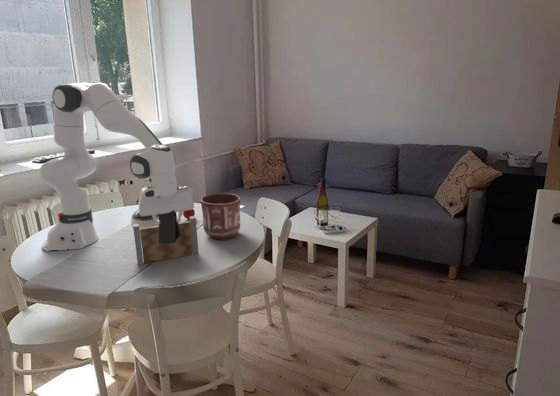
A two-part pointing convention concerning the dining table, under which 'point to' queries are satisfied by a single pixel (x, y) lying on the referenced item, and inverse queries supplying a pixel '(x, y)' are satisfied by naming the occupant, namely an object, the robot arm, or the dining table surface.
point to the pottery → (221, 215)
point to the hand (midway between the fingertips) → (168, 223)
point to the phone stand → (168, 228)
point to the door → (165, 250)
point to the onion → (188, 213)
